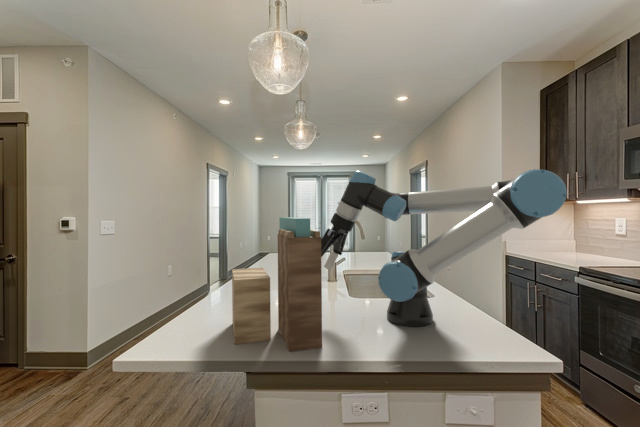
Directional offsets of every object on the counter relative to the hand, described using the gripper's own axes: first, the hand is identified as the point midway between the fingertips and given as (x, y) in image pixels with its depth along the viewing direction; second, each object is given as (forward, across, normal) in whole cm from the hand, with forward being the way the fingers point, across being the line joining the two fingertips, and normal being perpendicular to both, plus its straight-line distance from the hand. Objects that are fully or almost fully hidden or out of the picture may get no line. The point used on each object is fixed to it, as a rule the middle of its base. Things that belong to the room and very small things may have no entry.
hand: (318, 271), depth 111 cm
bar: (-11, +13, -8) cm, 19 cm away
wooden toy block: (+21, +19, -5) cm, 29 cm away
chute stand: (+14, +17, +9) cm, 24 cm away
